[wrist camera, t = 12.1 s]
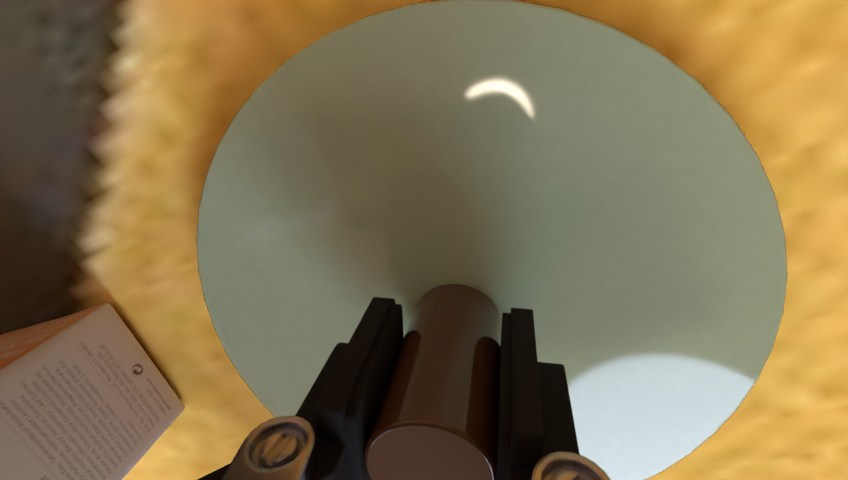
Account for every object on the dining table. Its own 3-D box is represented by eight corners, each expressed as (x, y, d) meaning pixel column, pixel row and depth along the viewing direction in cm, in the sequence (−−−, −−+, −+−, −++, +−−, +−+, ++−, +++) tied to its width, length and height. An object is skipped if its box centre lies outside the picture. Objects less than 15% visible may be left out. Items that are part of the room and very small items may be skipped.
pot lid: (266, 449, 18) (161, 623, 13) (160, 15, 12) (-157, -13, 6) (684, 511, 16) (782, 768, 10) (868, -14, 9) (1480, -116, 3)
